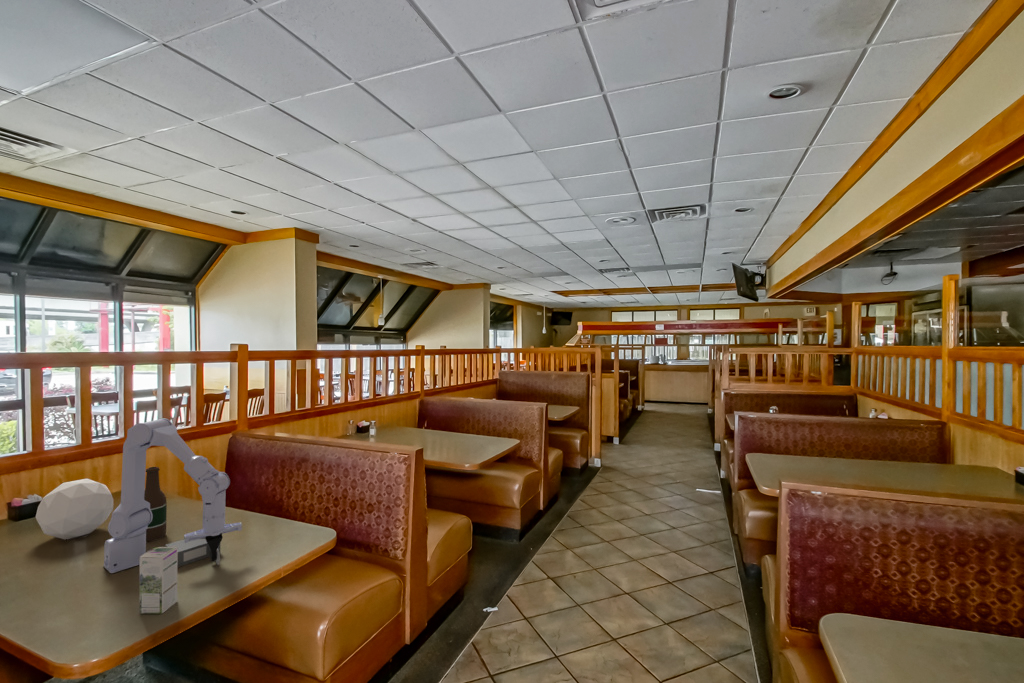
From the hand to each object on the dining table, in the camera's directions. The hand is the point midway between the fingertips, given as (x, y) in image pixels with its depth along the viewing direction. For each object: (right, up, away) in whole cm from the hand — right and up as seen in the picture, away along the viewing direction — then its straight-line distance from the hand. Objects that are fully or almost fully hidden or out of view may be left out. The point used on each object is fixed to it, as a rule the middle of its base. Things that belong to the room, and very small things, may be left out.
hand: (213, 559), depth 137 cm
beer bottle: (-33, -2, +18) cm, 38 cm away
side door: (0, -1, +2) cm, 2 cm away
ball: (-61, -1, +20) cm, 64 cm away
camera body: (-10, -1, +5) cm, 11 cm away
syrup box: (+1, -2, -23) cm, 23 cm away
